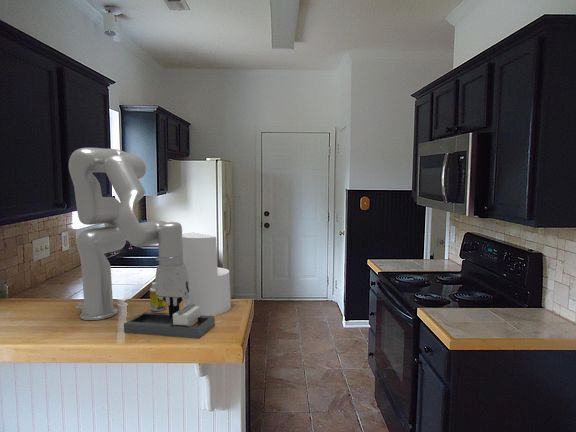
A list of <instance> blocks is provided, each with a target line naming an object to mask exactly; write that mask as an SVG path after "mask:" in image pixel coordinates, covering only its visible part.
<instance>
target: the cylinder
mask: <svg viewBox="0 0 576 432" xmlns="http://www.w3.org/2000/svg"><path fill="white" fill-rule="evenodd" d="M182 240H183V260H184V264H185V265H186V268H187V273H188V279H189V293H188V294H189V299H187V300H183V301H182V303H183V308H184V307H185V306H188V305H189V304H191V303H195V306H198V307H200V315H203V316H211V315H212V316H217V315H220V314H224V313H226V312H228V311H230V309H231V307H232V306H231V305H232V304H231V282H230V280H231V279H230V276H231V275H230V270H229V269H227V268H224V267H218V254H217V253H218V251H217V250H218V247H217V236H215V235H214V236H213V235H209V234H208V235H207V234H203V233H198V232H187V233H184V234H183V233H182ZM223 312H224V313H223Z"/></svg>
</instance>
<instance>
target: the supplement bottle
mask: <svg viewBox="0 0 576 432" xmlns="http://www.w3.org/2000/svg"><path fill="white" fill-rule="evenodd" d="M149 298H150V299H149V301H150V310H151V312H160V311H164V310H166V308H167V304H166V302H165V301H164V300H163V299H159V298H158V296H157V295H156V292H155V281H152V282H151V287H150V288H149Z"/></svg>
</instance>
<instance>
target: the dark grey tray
mask: <svg viewBox="0 0 576 432" xmlns="http://www.w3.org/2000/svg"><path fill="white" fill-rule="evenodd" d="M215 320H216V319H215V315H212V316H203V315H200V317H198V322H196V323H195V324H194V325H192V326H184V325H174V324H173V317H172V318H170V314H169V312H157V311H150V312H149V311H144V312H142V313H140V314H139V315H137V316H135V317H133V318H131V319H130V320H127V321H126V322H124V323H123V332H124V333H126V334H137V335H147V336H161V337H162V336H163V337H174V338H187V339H188V338H189V339H200V338H201V337H203V336H204V335H205V334H206V333H207V332H208V331H210V330H211V329H212V328H213V327H214V326H215V325H216V324H215V323H216V321H215Z"/></svg>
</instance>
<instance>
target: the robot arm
mask: <svg viewBox="0 0 576 432" xmlns="http://www.w3.org/2000/svg"><path fill="white" fill-rule="evenodd" d="M68 171H69V175H70V177H71V181H72V184H73V188H74V196H75V203H76V204H75V205H76V210H77V211H76V212H77V217H78V220H79V222H80V223H82V224H83V225H87V226H90V225H91V226H92V225H100V224H104V226H101V227H94V228H88V229H85V230H83V231H81V232H80V233H79V234H78V236H77V237H76V248H77V251H78V254H79V255H78V256H79V259H80V265H81V276H82V289H83V290H82V291H83V292H82V294H83V302H82V301H79V302H78V303H77V305H76V307H75V308H76V309H77V310H81V312H80V314H79V317H80V319H81V320H84V321H98V320H104V319H109V318H113V317H114V316H117V314H118V313H119V309H118V308H117V307H115V306H114V300H113V297H114V296H113V282H112V269H111V263H110V262H109V260H108V258H107V257H106V255H105V254H108V253H112V252H117V251H120V250H122V249H123V248H124V247H125V245H126V242H128V243H129V244H130V245H132V246H134V247H136V248H141V247H145V246H146V247H147V246H151V245H158V246H157V247H158V256H157V257H156V258H155V261H156V262H158V265H156V270H155V279H154V280H155V281H154V282H155V292H156V295H157V296H158V298H159V299H163V300H164V301H165V302H166V306H167V307H168V313H169V314H170V318H172V317H173V314H174V313H176V312H177V311H179V310H180V304H181V302H183V300H187V299H189V294H188V293H189V279H188V273H187V268H186V265H185V264H184V260H183V240H182V234H183V226H182V224H181V223H180V222H178V221H177V222H176V221H175V222H173V221H170V222H169V221H168V222H167V221H163V220H153V221H152V220H151V221H150V220H149V221H146V222H145V221H144V222H143V221H142V222H139V219H138V218H137V217H136V214H135V211H134V205H135V204H136V203H138V202H139V201H140V200H141V199H143V197H144V196H145V194H146V190H145V188H144V186H143V184H142V183H141V181H140V179H142V178H144V176H145V174H146V172H147V166H146V163H145V161H144V160H143V159H142V158H141V157H140V156H139V155H137V154H133V153H130V152H126V151H123V150H120V149H114V148H102V147H101V148H100V147H81V148H77V149H76V150H74V151H73V152H72V153H71V155H70V156H69V160H68ZM93 173H104V174H106V176H107V178H108V181H109V182H110V184H111V186H112V188H113V190H114V192H115V194H116V195H117V197H118V199H119V200H118V199H117V198H115V197H112V196H103V194H102V188H101V184H100V182H99V180H98V178H97V177H96V176H95V175H94V174H93Z"/></svg>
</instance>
